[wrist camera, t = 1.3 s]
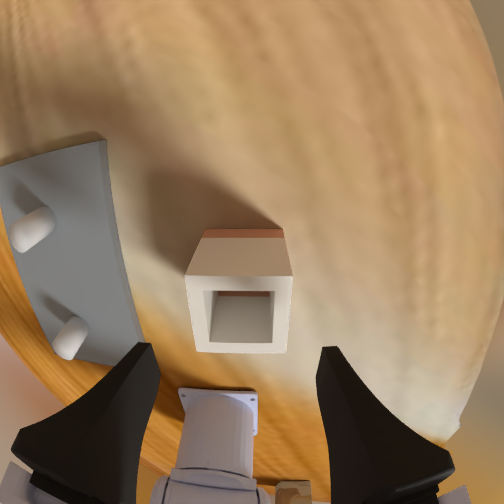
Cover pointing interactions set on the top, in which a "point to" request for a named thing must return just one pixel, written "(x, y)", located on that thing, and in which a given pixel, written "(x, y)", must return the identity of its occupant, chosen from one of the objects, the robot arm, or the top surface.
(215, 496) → the robot arm
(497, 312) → the top surface
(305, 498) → the skincare box
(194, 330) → the sleeve
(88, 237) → the pin board
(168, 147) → the top surface
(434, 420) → the top surface
